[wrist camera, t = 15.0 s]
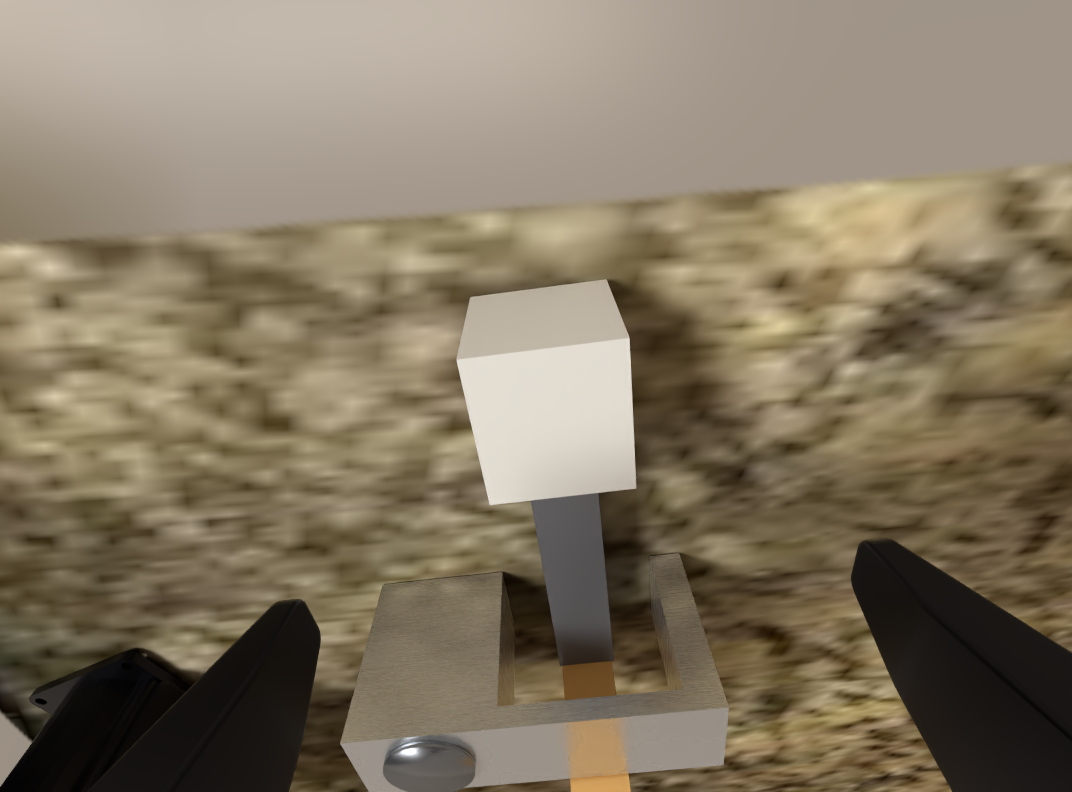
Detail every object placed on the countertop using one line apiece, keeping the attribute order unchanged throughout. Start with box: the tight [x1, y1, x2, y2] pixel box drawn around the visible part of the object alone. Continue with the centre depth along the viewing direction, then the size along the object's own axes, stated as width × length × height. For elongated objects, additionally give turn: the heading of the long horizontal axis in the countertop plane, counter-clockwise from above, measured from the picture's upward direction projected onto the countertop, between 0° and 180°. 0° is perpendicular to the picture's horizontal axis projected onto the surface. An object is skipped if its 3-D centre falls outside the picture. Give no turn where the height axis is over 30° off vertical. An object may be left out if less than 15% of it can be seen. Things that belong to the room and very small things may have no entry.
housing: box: [340, 553, 729, 792], centre depth 21 cm, size 4×12×6 cm, turn 97°
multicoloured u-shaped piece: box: [457, 279, 636, 792], centre depth 17 cm, size 18×4×9 cm, turn 7°
